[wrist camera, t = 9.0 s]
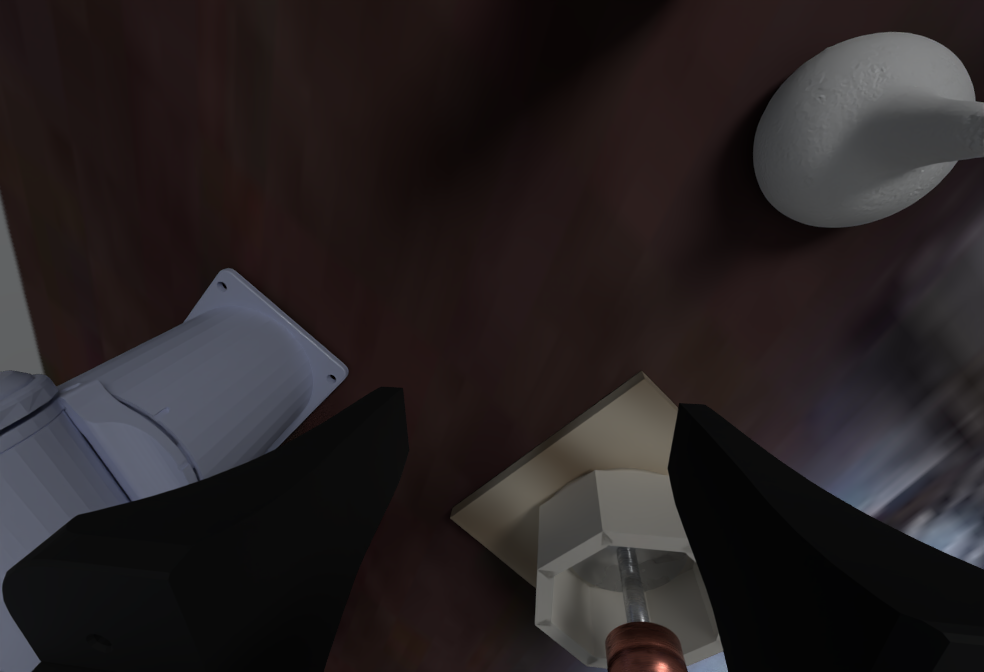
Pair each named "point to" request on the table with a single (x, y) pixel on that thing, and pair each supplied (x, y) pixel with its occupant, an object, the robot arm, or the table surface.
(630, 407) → the board
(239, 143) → the table surface
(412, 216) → the table surface
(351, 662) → the table surface
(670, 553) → the plunger
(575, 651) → the press carafe
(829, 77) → the garlic bulb
